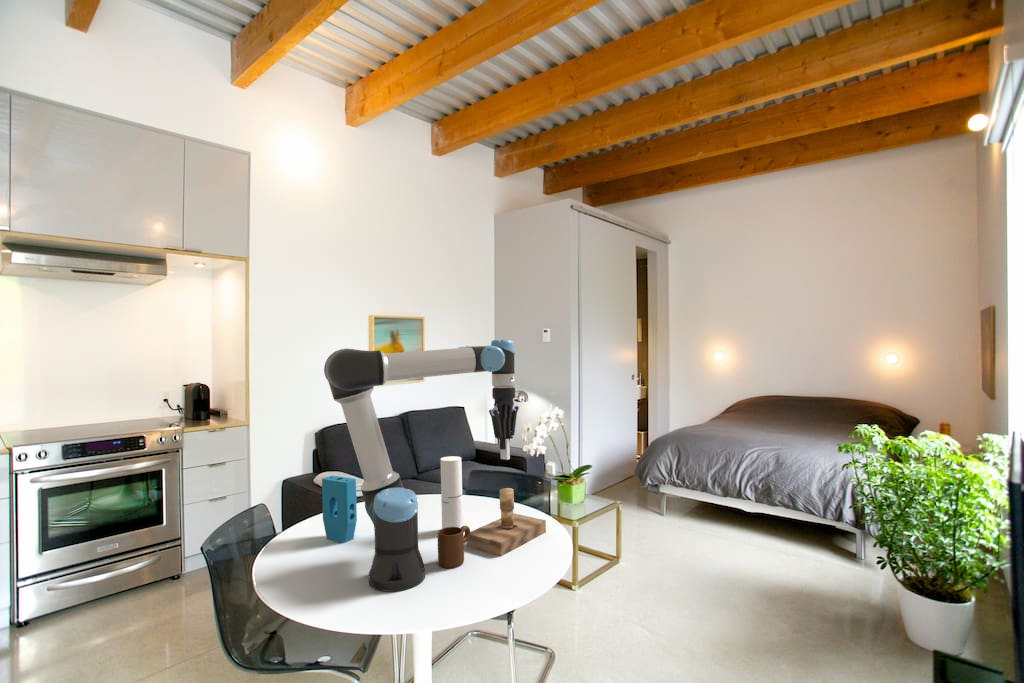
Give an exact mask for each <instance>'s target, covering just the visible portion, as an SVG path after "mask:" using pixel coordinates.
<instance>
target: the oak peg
mask: <svg viewBox="0 0 1024 683" xmlns="http://www.w3.org/2000/svg"><path fill="white" fill-rule="evenodd" d="M514 493H515V491H514V489H513V488H510V487H506V488H505V487H504V488H500V489H499V509H500V518H501V524H502V529H504V530H508V531H509V530H511V529H513V524H514V522H513V513H514V509H515V496H514V495H515V494H514Z"/></svg>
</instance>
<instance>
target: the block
mask: <svg viewBox="0 0 1024 683" xmlns="http://www.w3.org/2000/svg"><path fill="white" fill-rule="evenodd" d="M321 489H322V490H321V493H322V494H321V495H322V497H321V498H322V502H321V503H322V520H323V521H322V522H323V526H324V532H325V536H326V540H328V541H331V542H334V543H339V544H346V543H347V542H350V541H352V540H354V538H355V533H356V526H357V520H358V515H357V514H358V512H357V479H356V478H352V477H346V476H338V475H329V476H326V477H322V478H321Z"/></svg>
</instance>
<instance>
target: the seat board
mask: <svg viewBox="0 0 1024 683" xmlns="http://www.w3.org/2000/svg"><path fill="white" fill-rule="evenodd" d="M513 522H514V524H513V529H511V530H509V531H508V530H504V529H502V524H501V517H499V519H496V520H494V521H492V522H490V523H486V524H485V525H482V526H480V527H478V528H476V529H474V530H470V537H469V539H468V541H467V542H466V546H467V547H468V548H471V549H476V550H478V551H482V552H486V553H489V554H493V555H496V556H500V557H503V556H504V555H506V554H508V553H510V552H512V551H514V550H516V549H517V548H519V547H521V546H523V545H525V544H527V543H528V542H530V541H532V540H534V539H536V538H538V537H540V536H541V535H543V534H546V532H547V526H546V524H547V522H546V520H545V519H540V518H536V517H532V516H527V515H522V514H519V513H514V512H513Z"/></svg>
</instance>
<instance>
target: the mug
mask: <svg viewBox="0 0 1024 683" xmlns="http://www.w3.org/2000/svg"><path fill="white" fill-rule="evenodd" d="M470 532H471V529H470V527H469V526H468V525H463V526H462V527H461V528H458V527H447V528H443V529H442V528H440V529H439V530H438V531H437V560H438V561H437V563H438V564H439V566H440V567H441V568H446V569H454V568H458V567H460V566H462V565H463V564H464V561H465V543H466V544H467V541H468V539H469V537H470Z"/></svg>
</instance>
